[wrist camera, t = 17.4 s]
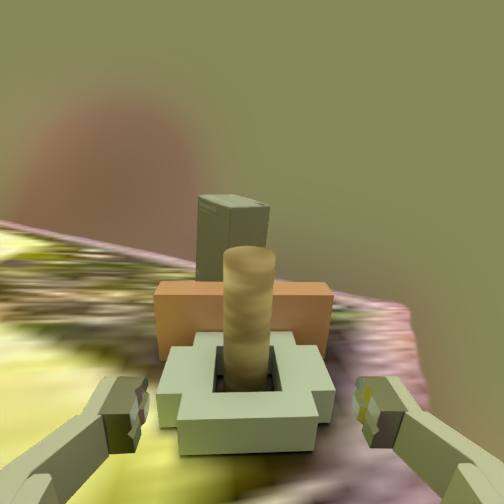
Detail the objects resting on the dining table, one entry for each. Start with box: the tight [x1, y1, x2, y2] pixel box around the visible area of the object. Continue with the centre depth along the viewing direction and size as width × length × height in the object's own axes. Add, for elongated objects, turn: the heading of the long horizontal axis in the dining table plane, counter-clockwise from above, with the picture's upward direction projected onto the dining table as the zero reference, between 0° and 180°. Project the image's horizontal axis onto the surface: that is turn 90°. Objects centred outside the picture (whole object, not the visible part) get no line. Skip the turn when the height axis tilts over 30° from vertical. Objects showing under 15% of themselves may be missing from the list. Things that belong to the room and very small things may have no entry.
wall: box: [153, 281, 334, 361], centre depth 30 cm, size 3×18×8 cm, turn 93°
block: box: [156, 331, 336, 455], centre depth 25 cm, size 10×14×4 cm
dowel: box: [223, 246, 275, 393], centre depth 24 cm, size 4×4×14 cm
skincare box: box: [195, 195, 270, 282], centre depth 39 cm, size 8×7×16 cm
